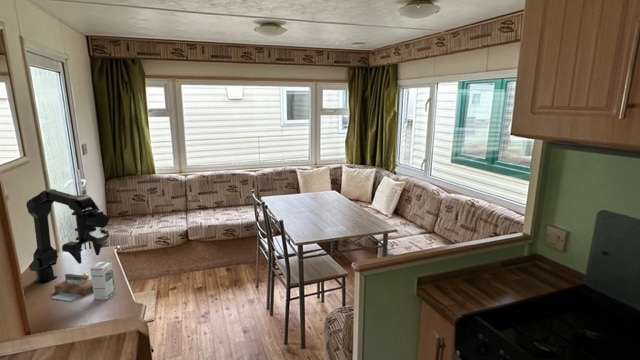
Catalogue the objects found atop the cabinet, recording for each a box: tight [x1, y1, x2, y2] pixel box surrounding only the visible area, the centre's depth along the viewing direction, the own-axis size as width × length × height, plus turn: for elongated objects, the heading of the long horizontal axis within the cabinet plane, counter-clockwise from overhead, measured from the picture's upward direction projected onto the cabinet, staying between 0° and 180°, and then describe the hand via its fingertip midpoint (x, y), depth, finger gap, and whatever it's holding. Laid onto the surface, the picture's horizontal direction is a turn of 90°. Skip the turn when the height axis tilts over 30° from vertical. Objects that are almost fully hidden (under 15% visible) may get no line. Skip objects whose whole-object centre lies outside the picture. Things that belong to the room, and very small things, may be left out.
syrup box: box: [89, 261, 116, 301], centre depth 147 cm, size 6×6×14 cm
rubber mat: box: [51, 292, 82, 303], centre depth 147 cm, size 10×5×1 cm, turn 77°
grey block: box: [67, 278, 88, 287], centre depth 153 cm, size 6×4×2 cm
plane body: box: [53, 279, 94, 297], centre depth 154 cm, size 16×8×3 cm, turn 77°
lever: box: [64, 273, 90, 282], centre depth 153 cm, size 12×2×5 cm, turn 77°
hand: (89, 259), depth 152 cm, fingers open, 9 cm apart
